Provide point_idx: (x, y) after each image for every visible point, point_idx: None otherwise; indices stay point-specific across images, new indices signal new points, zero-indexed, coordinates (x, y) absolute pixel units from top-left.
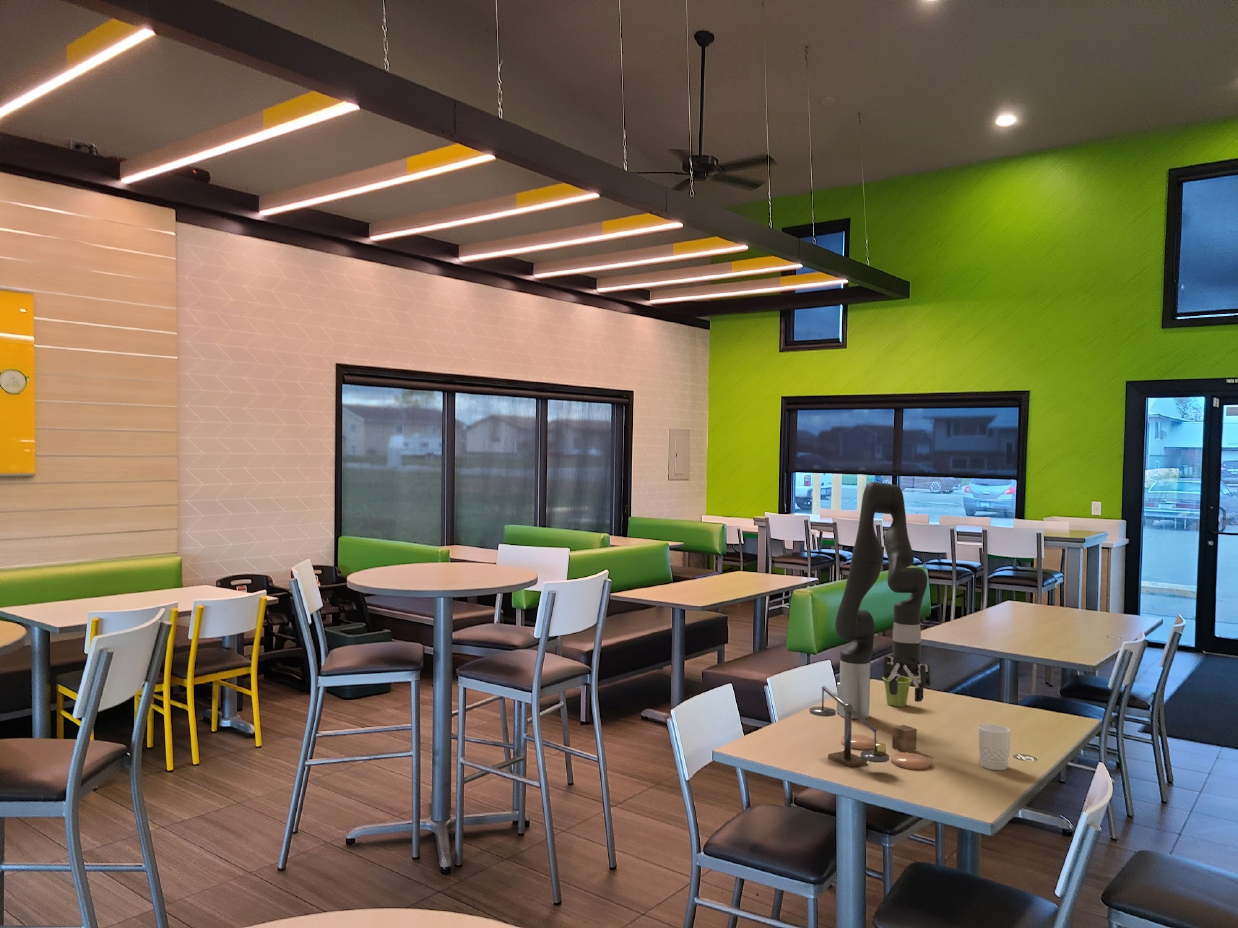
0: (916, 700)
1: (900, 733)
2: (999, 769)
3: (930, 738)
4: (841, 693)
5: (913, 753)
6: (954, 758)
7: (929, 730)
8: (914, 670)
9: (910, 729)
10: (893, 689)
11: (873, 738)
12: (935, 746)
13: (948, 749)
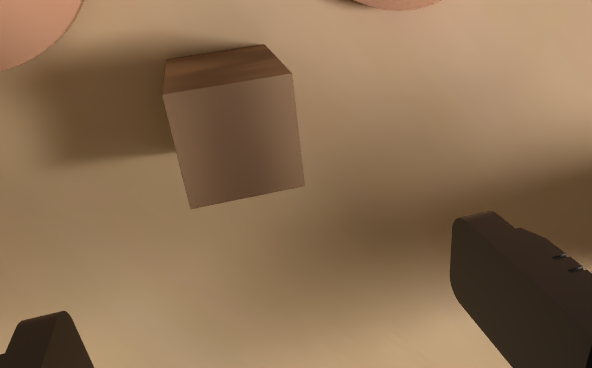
0: (25, 323)
1: (210, 78)
2: None
3: (318, 316)
4: None
5: (52, 43)
6: (10, 254)
7: (399, 364)
8: None
9: (190, 159)
10: (494, 274)
11: (394, 6)
12: (214, 275)
13: (156, 304)
